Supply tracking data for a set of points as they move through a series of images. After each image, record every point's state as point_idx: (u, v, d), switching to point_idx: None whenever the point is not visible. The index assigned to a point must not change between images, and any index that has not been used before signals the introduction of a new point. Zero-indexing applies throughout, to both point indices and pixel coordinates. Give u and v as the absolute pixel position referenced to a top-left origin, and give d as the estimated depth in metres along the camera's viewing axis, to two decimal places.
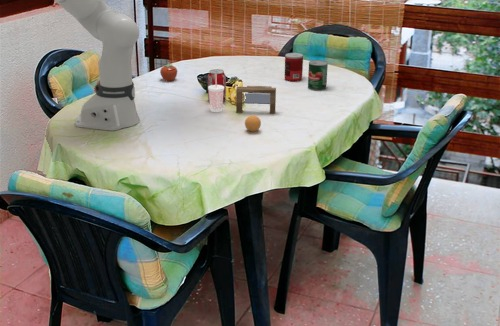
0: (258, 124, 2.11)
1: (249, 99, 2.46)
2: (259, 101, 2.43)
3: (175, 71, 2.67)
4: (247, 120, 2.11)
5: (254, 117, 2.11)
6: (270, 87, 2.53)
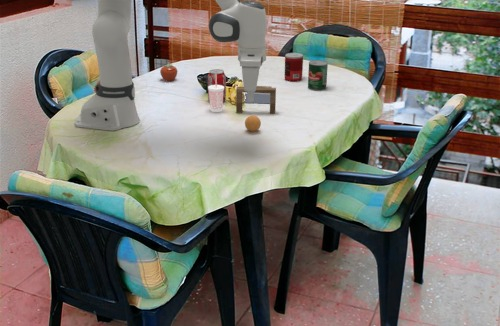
0: (258, 124, 2.11)
1: None
2: (259, 101, 2.43)
3: (175, 71, 2.67)
4: (247, 120, 2.11)
5: (254, 117, 2.11)
6: (270, 87, 2.53)
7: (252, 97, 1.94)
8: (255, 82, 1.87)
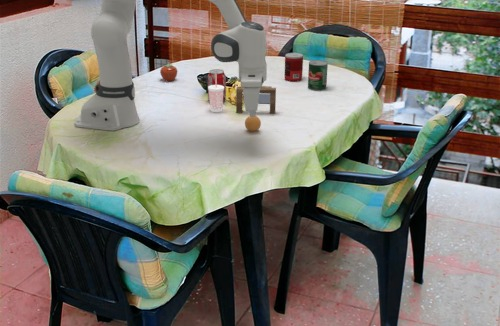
0: (258, 124, 2.11)
1: None
2: (259, 101, 2.43)
3: (175, 71, 2.67)
4: (247, 120, 2.11)
5: (254, 117, 2.11)
6: (270, 87, 2.53)
7: (254, 112, 2.00)
8: (256, 102, 1.90)
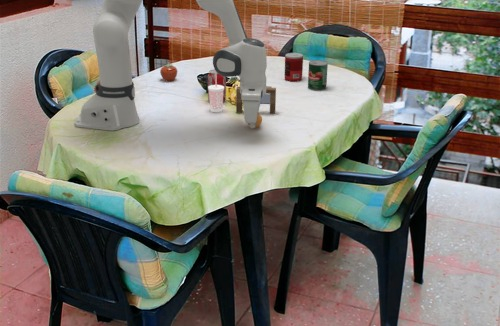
0: (260, 116, 2.15)
1: None
2: None
3: (175, 71, 2.67)
4: None
5: None
6: (270, 87, 2.53)
7: (254, 124, 2.11)
8: (255, 115, 2.01)
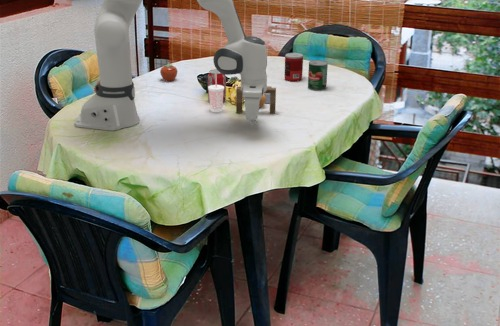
0: None
1: None
2: None
3: (175, 71, 2.67)
4: None
5: None
6: (270, 87, 2.53)
7: (254, 121, 2.14)
8: (256, 111, 2.04)
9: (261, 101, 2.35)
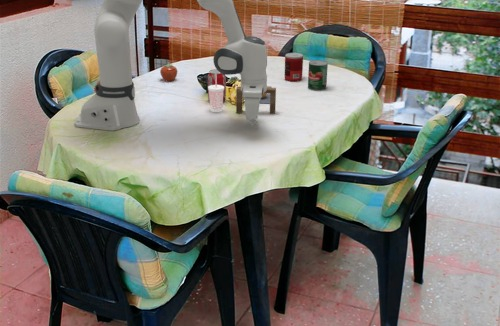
0: None
1: None
2: None
3: (175, 71, 2.67)
4: None
5: None
6: (270, 87, 2.53)
7: (254, 121, 2.14)
8: (256, 111, 2.04)
9: None
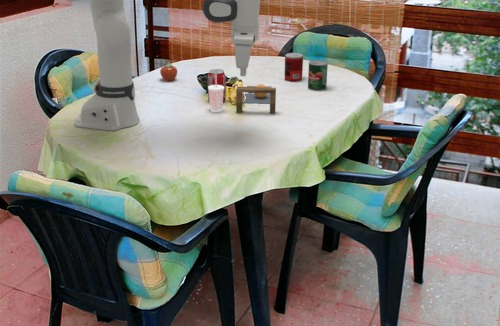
0: None
1: (249, 99, 2.46)
2: (259, 101, 2.43)
3: (175, 71, 2.67)
4: (256, 86, 2.46)
5: None
6: (270, 87, 2.53)
7: (244, 72, 2.05)
8: (247, 59, 1.95)
9: None
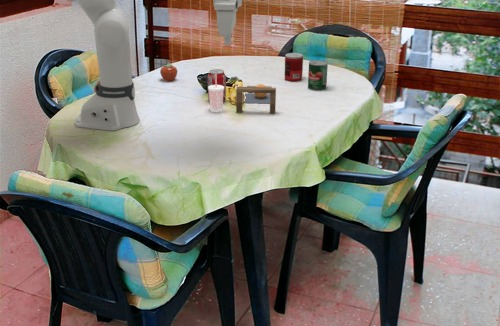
0: None
1: (249, 99, 2.46)
2: (259, 101, 2.43)
3: (175, 71, 2.67)
4: (256, 86, 2.46)
5: None
6: (270, 87, 2.53)
7: (229, 40, 1.96)
8: (230, 26, 1.85)
9: None
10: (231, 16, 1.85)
